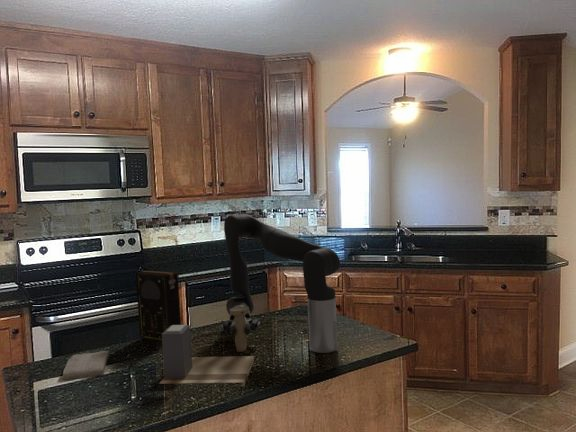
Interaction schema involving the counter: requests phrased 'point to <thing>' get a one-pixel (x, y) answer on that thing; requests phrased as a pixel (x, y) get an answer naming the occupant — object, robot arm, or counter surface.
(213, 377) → the subfloor panel
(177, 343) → the grey tall block
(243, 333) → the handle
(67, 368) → the washcloth
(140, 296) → the voltmeter
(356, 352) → the counter surface
